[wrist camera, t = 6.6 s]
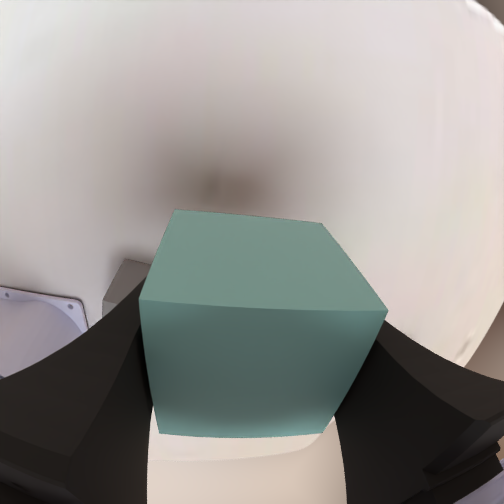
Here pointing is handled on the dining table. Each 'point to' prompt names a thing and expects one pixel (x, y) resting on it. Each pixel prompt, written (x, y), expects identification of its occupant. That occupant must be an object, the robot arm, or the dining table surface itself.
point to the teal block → (252, 326)
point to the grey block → (124, 283)
